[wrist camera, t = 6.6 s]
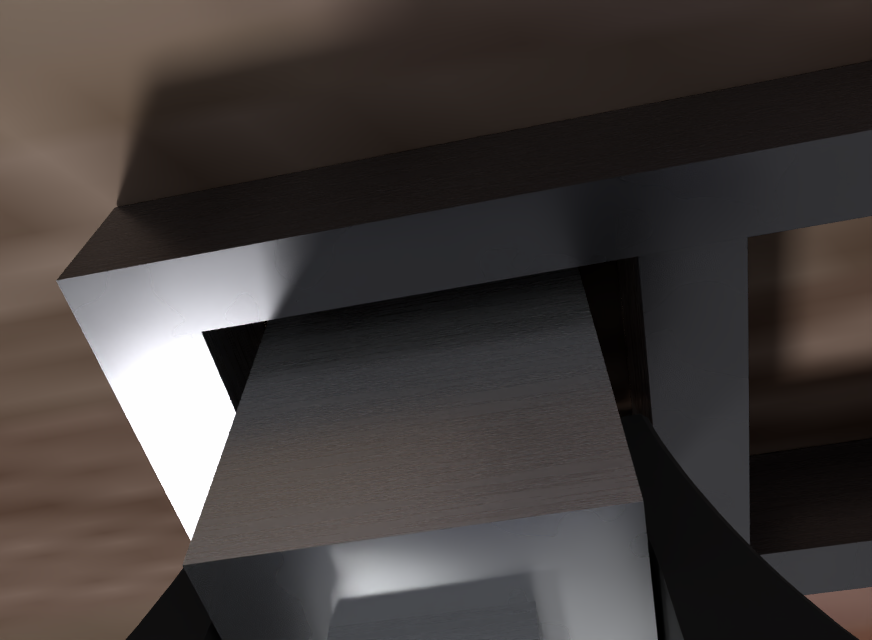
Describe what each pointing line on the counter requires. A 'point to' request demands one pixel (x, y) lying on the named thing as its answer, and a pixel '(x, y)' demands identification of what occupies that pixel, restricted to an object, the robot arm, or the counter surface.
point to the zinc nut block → (429, 477)
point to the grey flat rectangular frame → (508, 258)
